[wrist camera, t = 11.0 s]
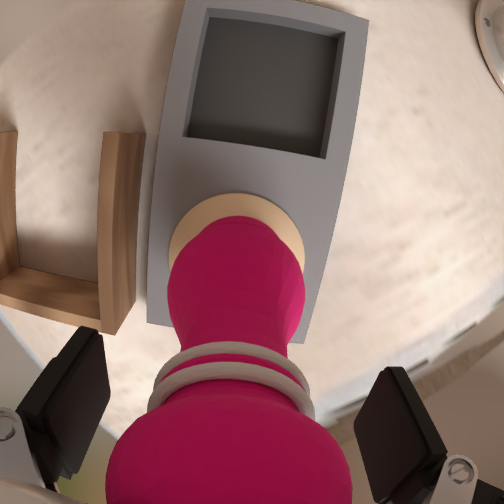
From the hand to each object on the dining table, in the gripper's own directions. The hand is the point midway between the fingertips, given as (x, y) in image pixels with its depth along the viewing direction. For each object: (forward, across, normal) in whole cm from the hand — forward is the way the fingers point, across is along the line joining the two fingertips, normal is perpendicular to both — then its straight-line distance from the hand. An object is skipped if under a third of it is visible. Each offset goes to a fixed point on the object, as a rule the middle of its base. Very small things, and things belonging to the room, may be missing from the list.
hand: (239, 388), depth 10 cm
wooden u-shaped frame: (+14, +15, 0) cm, 20 cm away
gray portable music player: (+14, +1, -5) cm, 15 cm away
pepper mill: (+12, 0, 0) cm, 12 cm away
